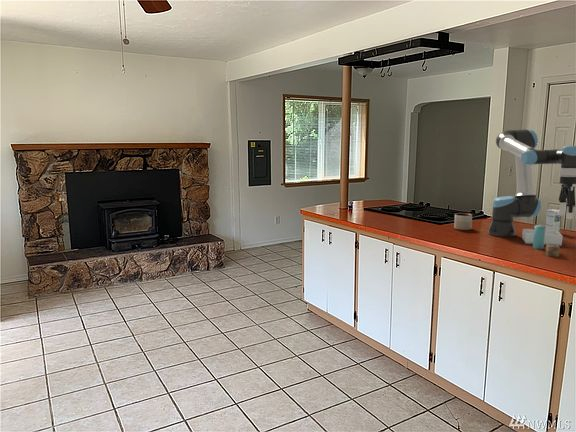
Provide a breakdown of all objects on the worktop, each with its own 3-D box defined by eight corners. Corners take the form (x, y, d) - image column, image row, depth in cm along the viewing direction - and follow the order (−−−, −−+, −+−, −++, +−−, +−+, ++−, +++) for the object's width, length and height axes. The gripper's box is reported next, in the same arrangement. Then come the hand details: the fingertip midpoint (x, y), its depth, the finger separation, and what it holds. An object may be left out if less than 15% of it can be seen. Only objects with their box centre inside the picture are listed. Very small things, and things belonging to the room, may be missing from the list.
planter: (467, 226, 291) (467, 212, 289) (474, 230, 280) (475, 215, 279) (451, 227, 291) (452, 213, 289) (458, 230, 280) (458, 216, 278)
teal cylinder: (533, 248, 233) (535, 226, 230) (532, 246, 237) (533, 225, 235) (544, 249, 231) (546, 227, 229) (542, 247, 235) (544, 225, 233)
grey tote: (525, 243, 243) (526, 233, 242) (522, 238, 256) (522, 228, 255) (561, 245, 237) (562, 235, 236) (556, 240, 250) (557, 230, 249)
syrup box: (552, 234, 265) (555, 210, 262) (544, 232, 270) (546, 209, 268) (560, 233, 266) (562, 210, 264) (552, 231, 272) (554, 208, 269)
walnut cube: (547, 256, 218) (548, 246, 217) (545, 253, 223) (546, 244, 222) (558, 256, 217) (559, 247, 216) (556, 254, 221) (557, 244, 220)
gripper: (585, 178, 209) (581, 221, 213) (570, 174, 232) (566, 213, 236) (567, 178, 211) (563, 220, 215) (554, 174, 235) (551, 212, 238)
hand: (565, 216), depth 225 cm, fingers open, 13 cm apart
